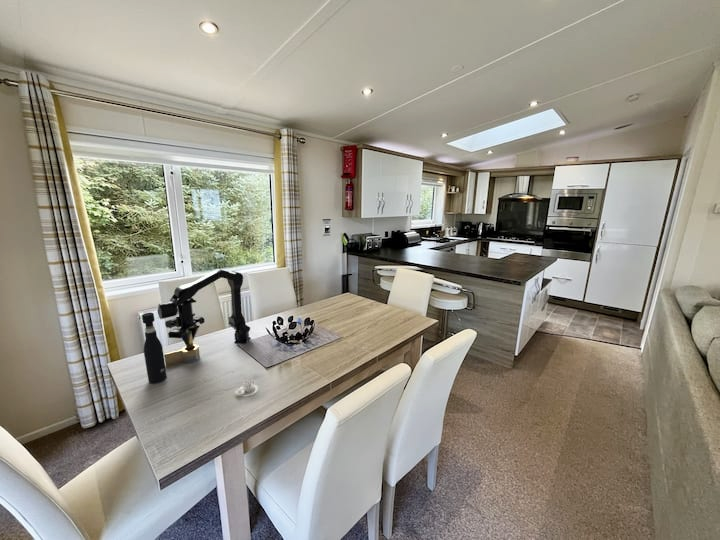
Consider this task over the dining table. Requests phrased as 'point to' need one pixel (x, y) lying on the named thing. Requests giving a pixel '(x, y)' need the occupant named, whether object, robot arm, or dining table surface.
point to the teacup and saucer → (246, 388)
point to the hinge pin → (190, 341)
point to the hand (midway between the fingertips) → (189, 343)
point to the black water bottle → (153, 352)
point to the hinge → (182, 355)
